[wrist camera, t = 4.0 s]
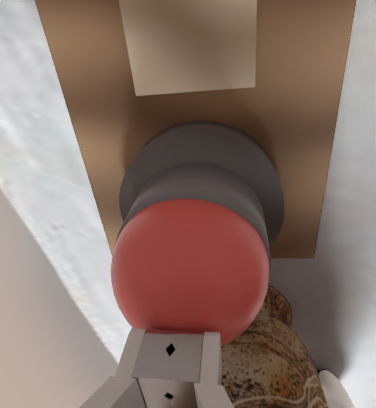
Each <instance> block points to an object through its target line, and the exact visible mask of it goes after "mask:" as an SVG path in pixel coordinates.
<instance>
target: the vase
mask: <svg viewBox="0 0 376 408" xmlns="http://www.w3.org/2000/svg"><path fill="white" fill-rule="evenodd" d="M291 324H292V311H291V308H290V306H289V304H288V301H287V300H286V298H285V297H284V296H283V295H282V294H281V293H280V292H278V291H277V290H276V289H274V288H272V287H270V286H268V289H267V293H266V296H265V299H264V302H263V305H262V307H261V309H260V311H259V313H258V314H257V316H256V318H255V319H254V321H253V322H252V323H251V324H250V325H249V327H248V328H247V329H246V330H245V331H244V332H243V333H242V334H240V335H239V336H238V337H237V338H235V339H234V340H232V341H231V342H229V343H227V344H225V345H223V346H221V354H222V381H221V385H223V387H224V389H225V391H226V393H227V395H228V397H229V399H230V400H231V402H232V404H233V406H234V408H328V405H327V401H326V398H325V395H324V391H323V388H322V385H321V382H320V379H319V376H318V373H317V371H316V368H315V366H314V363H313V361H312V359H311V357H310V355H309V353H308V351H307V349H306V347H305V346H304V344H303V342H302V341H301V340H300V339H299V337H298V336H297V335H296V334H295V333H294V332H293V331H292V330H291V329H290V326H291Z"/></svg>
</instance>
